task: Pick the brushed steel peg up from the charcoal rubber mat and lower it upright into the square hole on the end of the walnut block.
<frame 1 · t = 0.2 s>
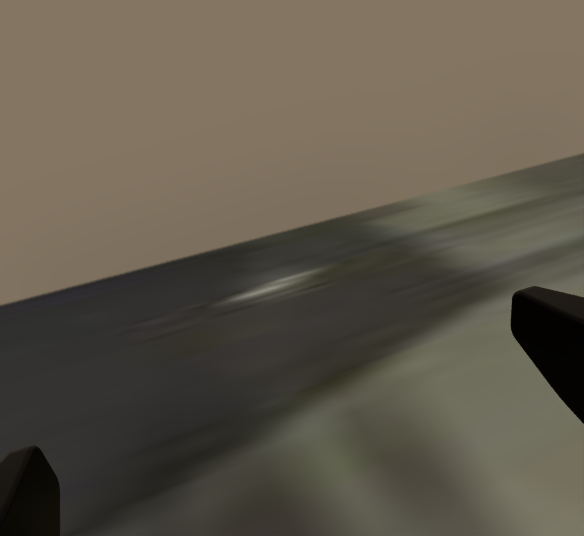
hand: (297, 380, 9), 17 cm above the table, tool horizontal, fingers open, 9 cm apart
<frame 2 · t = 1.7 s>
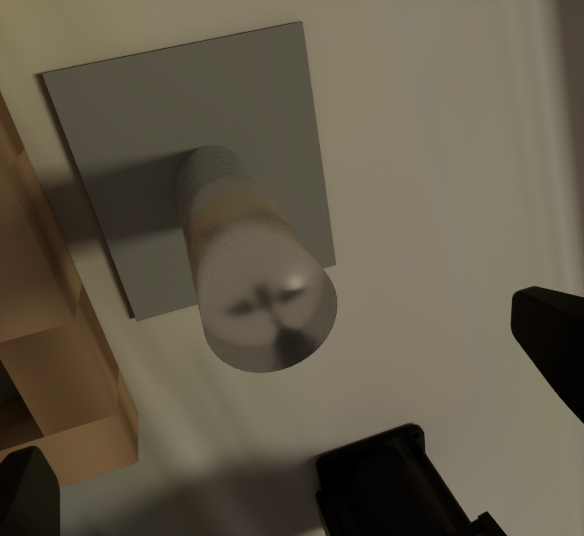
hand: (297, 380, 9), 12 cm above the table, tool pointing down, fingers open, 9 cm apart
mat: (211, 182, 20), on the table
peg: (212, 184, 20), resting on mat
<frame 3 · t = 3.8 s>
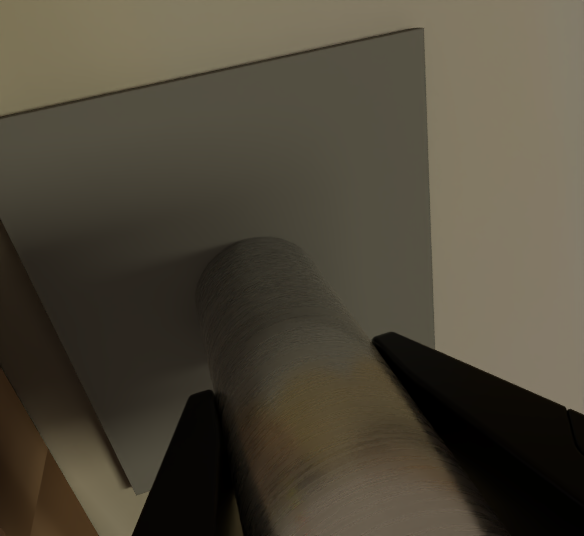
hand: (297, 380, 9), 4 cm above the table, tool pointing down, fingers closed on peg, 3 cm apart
mat: (256, 289, 12), on the table
peg: (259, 295, 12), resting on mat, touching gripper
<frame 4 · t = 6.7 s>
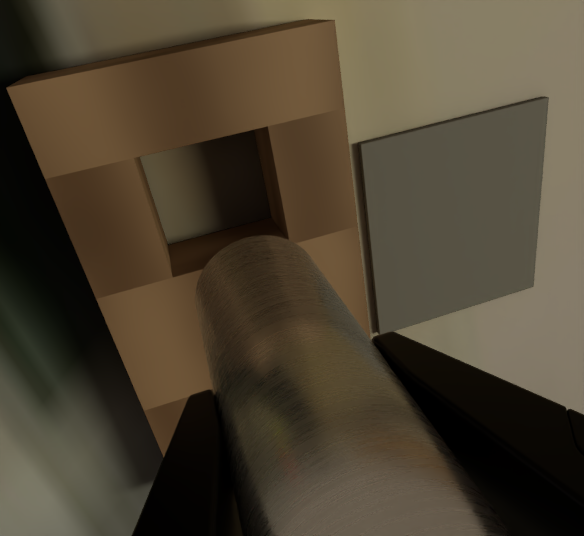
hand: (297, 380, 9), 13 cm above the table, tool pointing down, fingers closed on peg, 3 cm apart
mat: (455, 222, 24), on the table
hole block: (235, 285, 23), on the table
peg: (259, 294, 12), point 10 cm above the table, touching gripper
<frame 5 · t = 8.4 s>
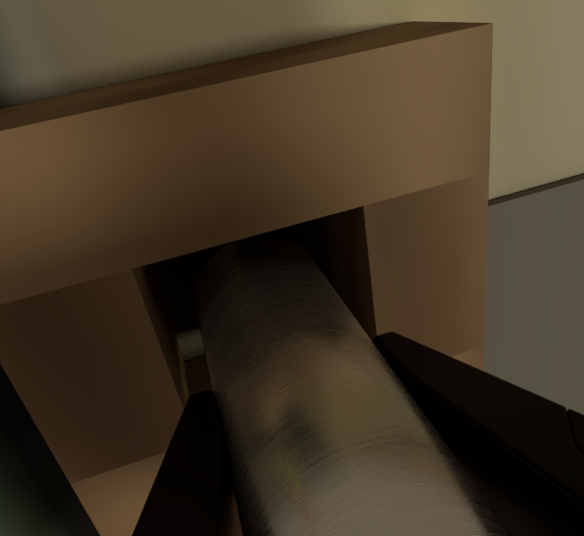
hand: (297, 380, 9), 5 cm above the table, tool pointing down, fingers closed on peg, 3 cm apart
hole block: (280, 408, 15), on the table
peg: (259, 293, 12), point 1 cm above the table, touching gripper
when the fingers open (4 cm above the table, at t = 9.8 s): peg stays where it is, resting in hole block.
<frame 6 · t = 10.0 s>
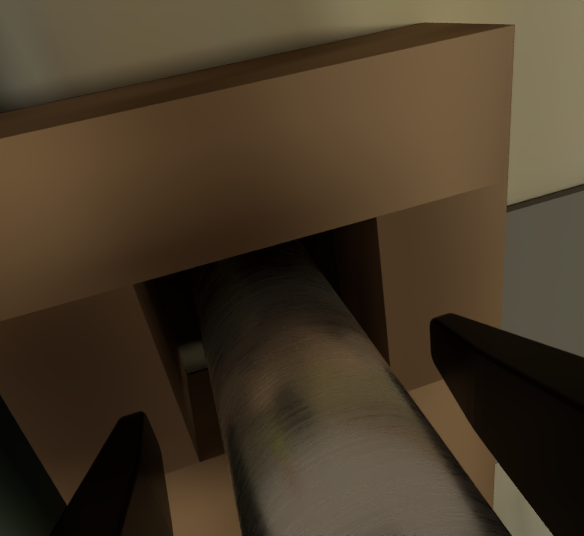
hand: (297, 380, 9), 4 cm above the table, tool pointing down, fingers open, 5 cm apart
hole block: (285, 422, 15), on the table
peg: (251, 278, 13), resting in hole block
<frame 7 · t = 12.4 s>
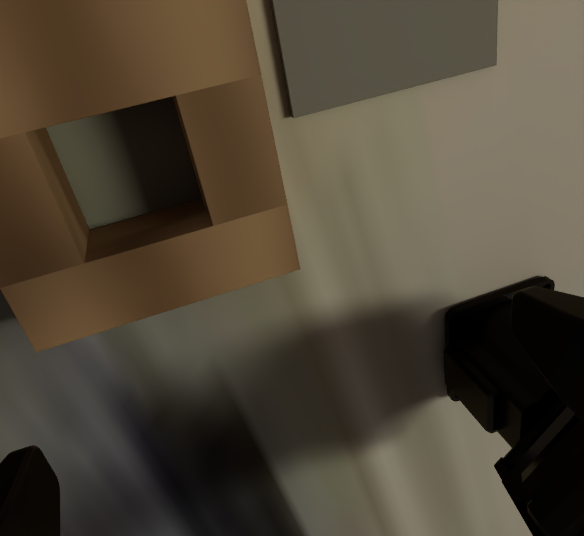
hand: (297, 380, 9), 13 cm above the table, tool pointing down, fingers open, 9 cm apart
hole block: (74, 11, 16), on the table
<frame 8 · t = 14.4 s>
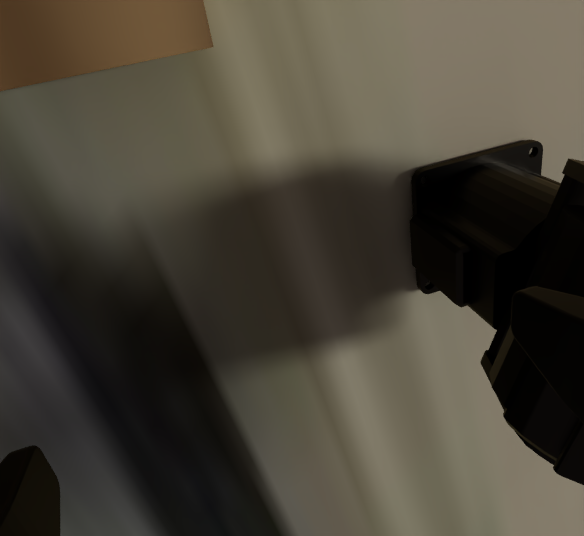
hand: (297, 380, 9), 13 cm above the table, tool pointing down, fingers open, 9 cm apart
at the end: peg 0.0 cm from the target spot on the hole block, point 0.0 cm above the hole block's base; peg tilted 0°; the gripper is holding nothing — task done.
